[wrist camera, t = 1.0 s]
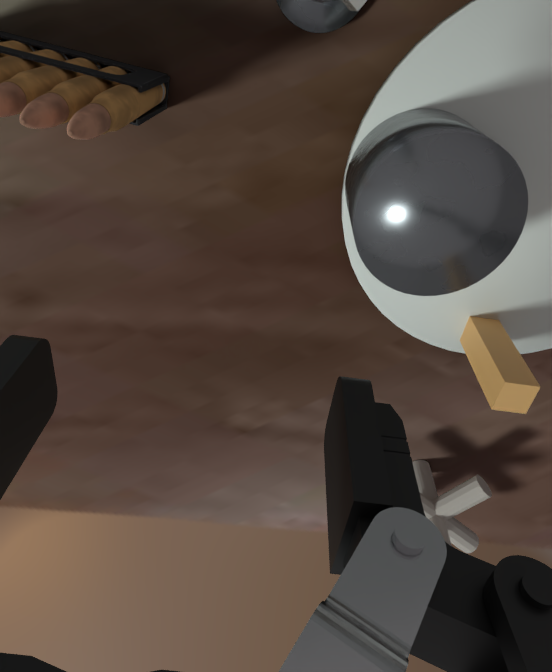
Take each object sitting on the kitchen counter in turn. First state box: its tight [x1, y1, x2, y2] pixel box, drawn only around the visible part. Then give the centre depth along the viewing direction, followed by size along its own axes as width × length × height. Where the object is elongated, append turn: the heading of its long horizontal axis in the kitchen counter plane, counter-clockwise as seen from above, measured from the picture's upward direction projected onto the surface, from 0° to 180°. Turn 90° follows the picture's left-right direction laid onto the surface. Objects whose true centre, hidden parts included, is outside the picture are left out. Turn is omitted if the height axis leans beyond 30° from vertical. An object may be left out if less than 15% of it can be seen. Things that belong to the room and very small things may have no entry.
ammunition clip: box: [0, 31, 170, 140], centre depth 23 cm, size 11×2×12 cm, turn 77°
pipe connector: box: [412, 460, 492, 553], centre depth 40 cm, size 10×10×10 cm
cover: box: [345, 108, 528, 296], centre depth 26 cm, size 8×8×6 cm
